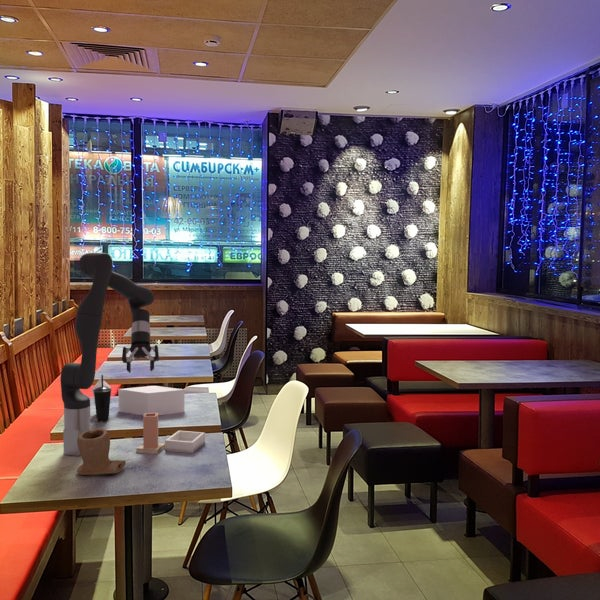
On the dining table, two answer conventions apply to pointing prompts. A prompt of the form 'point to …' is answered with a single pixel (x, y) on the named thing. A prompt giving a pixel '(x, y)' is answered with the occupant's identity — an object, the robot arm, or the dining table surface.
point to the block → (151, 400)
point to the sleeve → (150, 430)
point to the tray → (185, 441)
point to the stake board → (150, 449)
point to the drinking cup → (102, 402)
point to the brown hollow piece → (97, 454)
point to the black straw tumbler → (99, 383)
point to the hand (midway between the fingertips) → (140, 371)
